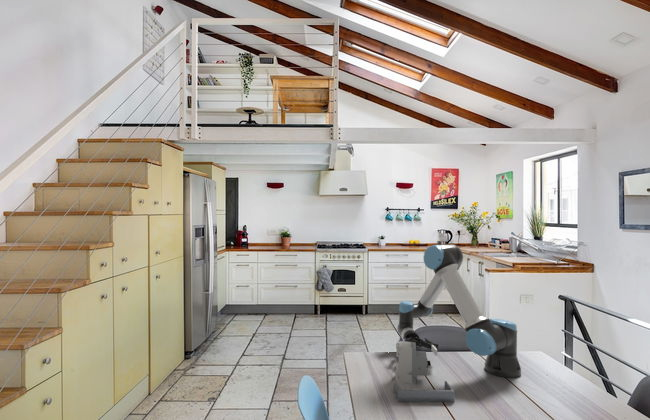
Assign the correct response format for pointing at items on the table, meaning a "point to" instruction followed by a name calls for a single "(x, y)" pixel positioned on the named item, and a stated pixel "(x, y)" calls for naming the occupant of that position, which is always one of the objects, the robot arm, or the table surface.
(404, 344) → the circuit breaker
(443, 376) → the table surface
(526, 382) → the table surface
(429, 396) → the grey u-shaped bracket
